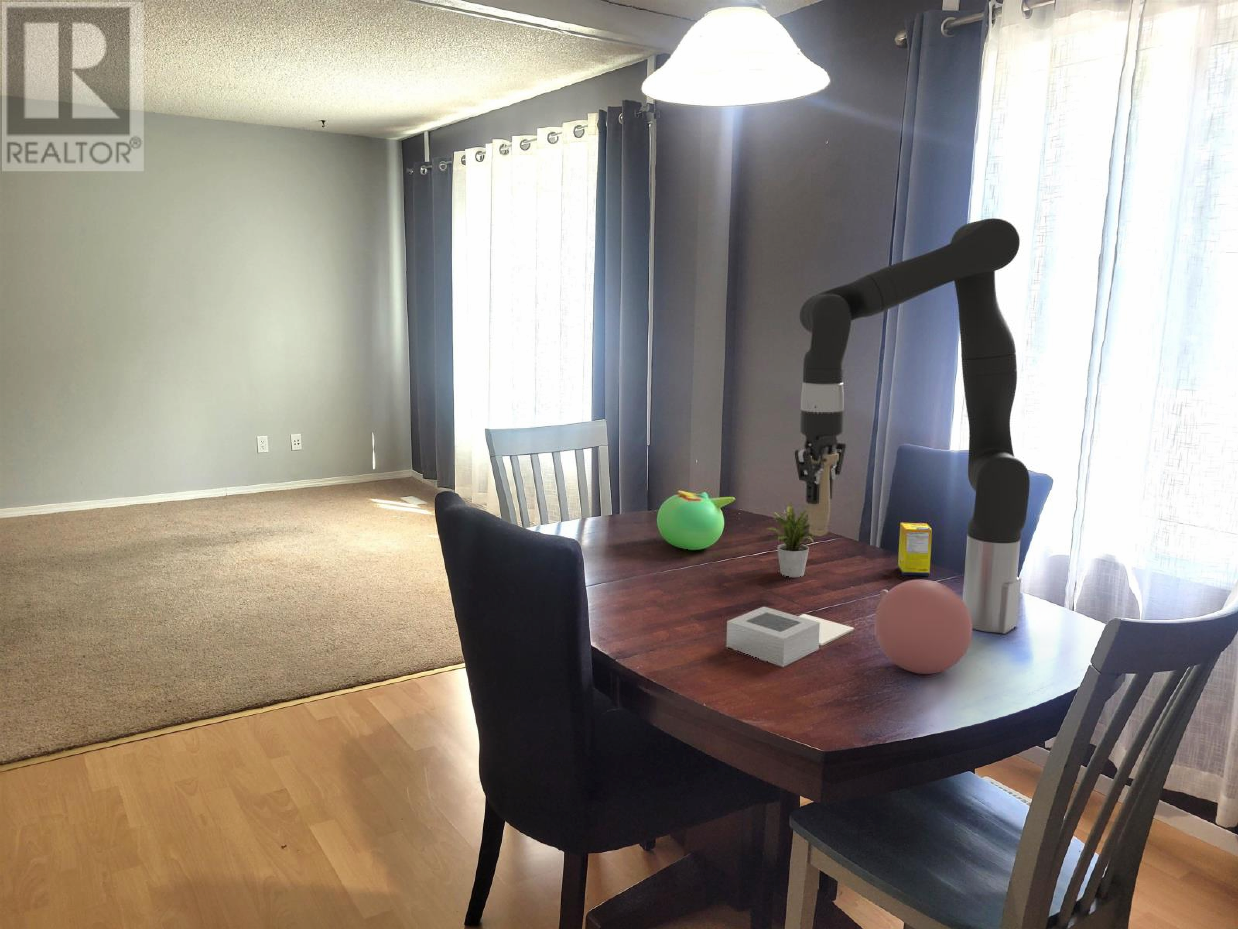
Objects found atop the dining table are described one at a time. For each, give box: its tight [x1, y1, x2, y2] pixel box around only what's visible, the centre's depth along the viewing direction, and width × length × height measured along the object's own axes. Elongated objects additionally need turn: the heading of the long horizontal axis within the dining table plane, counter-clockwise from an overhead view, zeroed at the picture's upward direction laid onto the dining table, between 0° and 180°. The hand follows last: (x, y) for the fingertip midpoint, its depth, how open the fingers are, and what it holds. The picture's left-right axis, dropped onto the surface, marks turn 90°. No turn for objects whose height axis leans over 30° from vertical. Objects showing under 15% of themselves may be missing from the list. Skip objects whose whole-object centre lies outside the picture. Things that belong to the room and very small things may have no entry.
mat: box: [798, 613, 855, 646], centre depth 168 cm, size 11×11×1 cm
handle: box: [807, 453, 839, 537], centre depth 163 cm, size 5×6×15 cm
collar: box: [726, 606, 820, 668], centre depth 158 cm, size 12×11×5 cm
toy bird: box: [656, 490, 736, 551], centre depth 223 cm, size 18×17×15 cm
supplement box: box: [897, 522, 933, 577], centre depth 203 cm, size 6×6×11 cm
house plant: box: [766, 502, 830, 578], centre depth 200 cm, size 14×14×16 cm
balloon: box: [873, 579, 973, 675], centre depth 151 cm, size 15×20×15 cm
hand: (819, 501), depth 163 cm, fingers closed on handle, 4 cm apart
